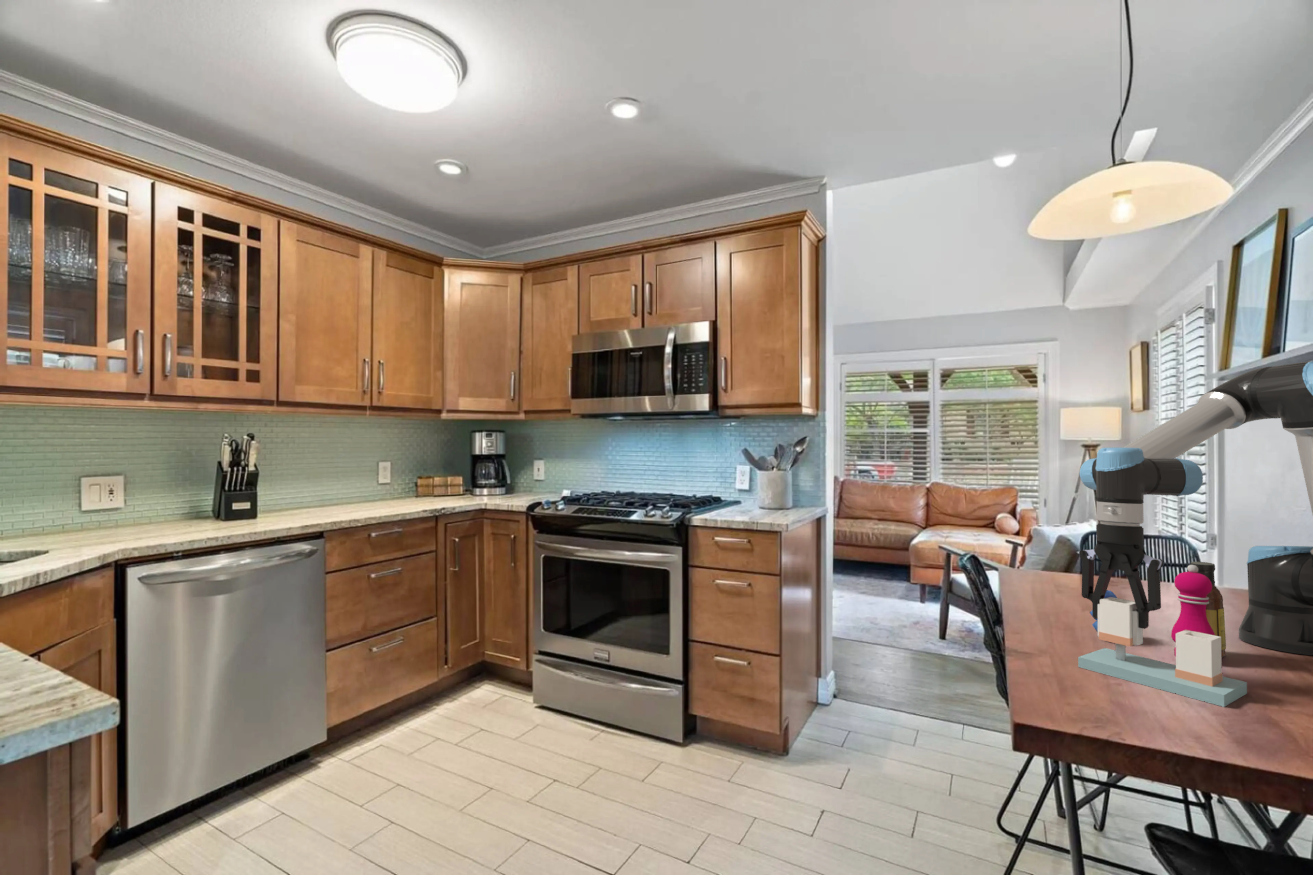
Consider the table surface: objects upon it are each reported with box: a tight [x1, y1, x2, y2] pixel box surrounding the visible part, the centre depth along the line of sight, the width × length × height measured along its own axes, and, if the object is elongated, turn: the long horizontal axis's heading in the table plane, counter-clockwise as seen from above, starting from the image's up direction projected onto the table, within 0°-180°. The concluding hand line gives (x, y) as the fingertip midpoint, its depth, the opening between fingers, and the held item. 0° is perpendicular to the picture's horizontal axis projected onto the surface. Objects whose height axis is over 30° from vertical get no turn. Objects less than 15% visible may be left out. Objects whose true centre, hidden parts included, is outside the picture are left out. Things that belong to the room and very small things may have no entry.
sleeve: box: [1098, 597, 1137, 647], centre depth 119 cm, size 5×5×8 cm
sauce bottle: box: [1189, 561, 1227, 658], centre depth 130 cm, size 7×6×20 cm
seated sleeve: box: [1175, 630, 1224, 687], centre depth 109 cm, size 5×5×8 cm
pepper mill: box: [1170, 564, 1215, 658], centre depth 126 cm, size 7×7×20 cm
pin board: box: [1077, 643, 1248, 708], centre depth 114 cm, size 12×22×6 cm, turn 32°
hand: (1119, 639), depth 119 cm, fingers closed on sleeve, 5 cm apart
